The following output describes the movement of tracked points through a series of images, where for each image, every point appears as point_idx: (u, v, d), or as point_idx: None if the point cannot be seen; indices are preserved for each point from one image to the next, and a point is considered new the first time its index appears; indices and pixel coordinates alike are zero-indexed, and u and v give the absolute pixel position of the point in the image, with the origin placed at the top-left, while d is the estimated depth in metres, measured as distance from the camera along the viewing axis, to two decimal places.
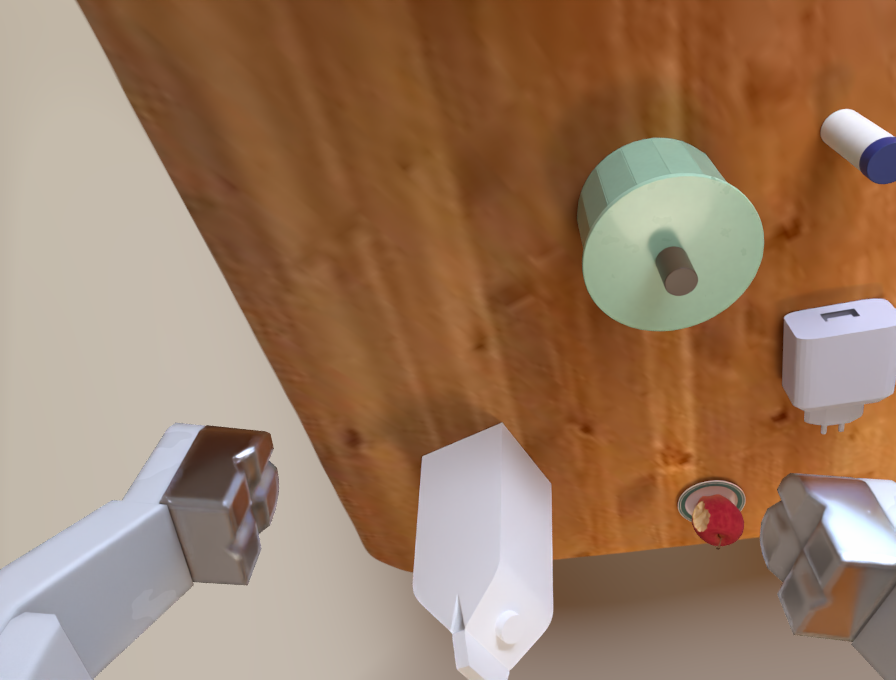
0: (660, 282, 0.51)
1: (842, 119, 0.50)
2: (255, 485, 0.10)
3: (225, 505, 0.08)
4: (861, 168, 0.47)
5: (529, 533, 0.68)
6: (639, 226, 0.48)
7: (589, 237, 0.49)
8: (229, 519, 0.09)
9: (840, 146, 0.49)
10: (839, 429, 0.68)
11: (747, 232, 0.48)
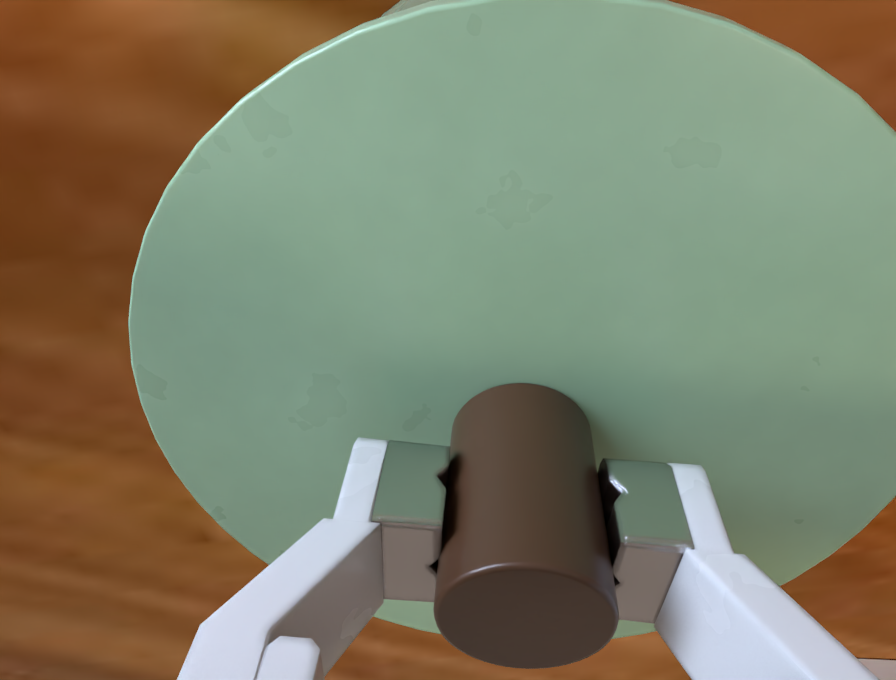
0: None
1: None
2: None
3: (438, 523, 0.08)
4: None
5: None
6: (312, 468, 0.12)
7: None
8: (437, 537, 0.09)
9: None
10: None
11: (582, 95, 0.08)
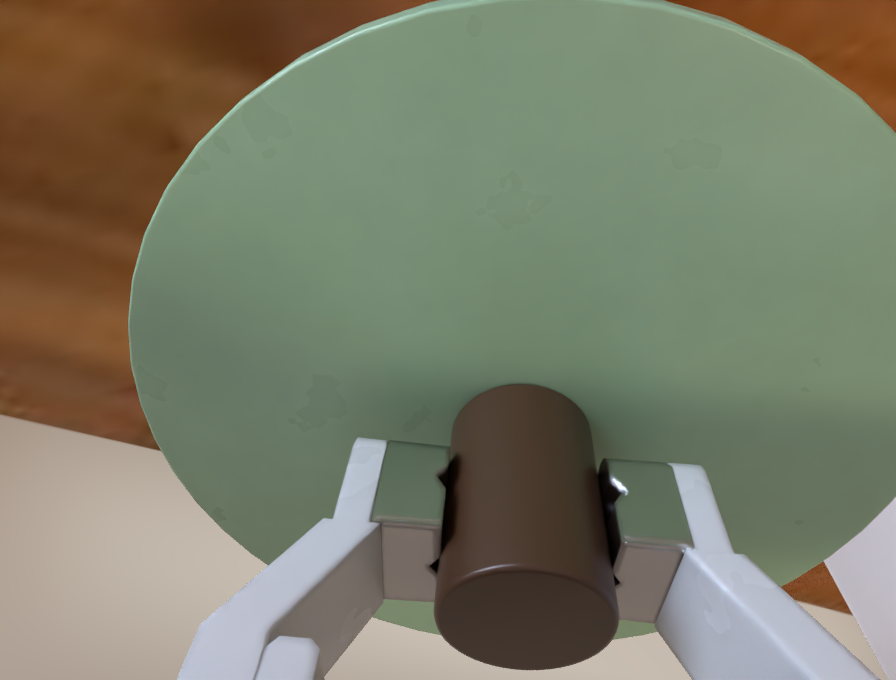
0: None
1: None
2: None
3: (438, 523, 0.08)
4: None
5: None
6: (312, 469, 0.12)
7: None
8: (437, 537, 0.09)
9: None
10: None
11: (583, 96, 0.08)
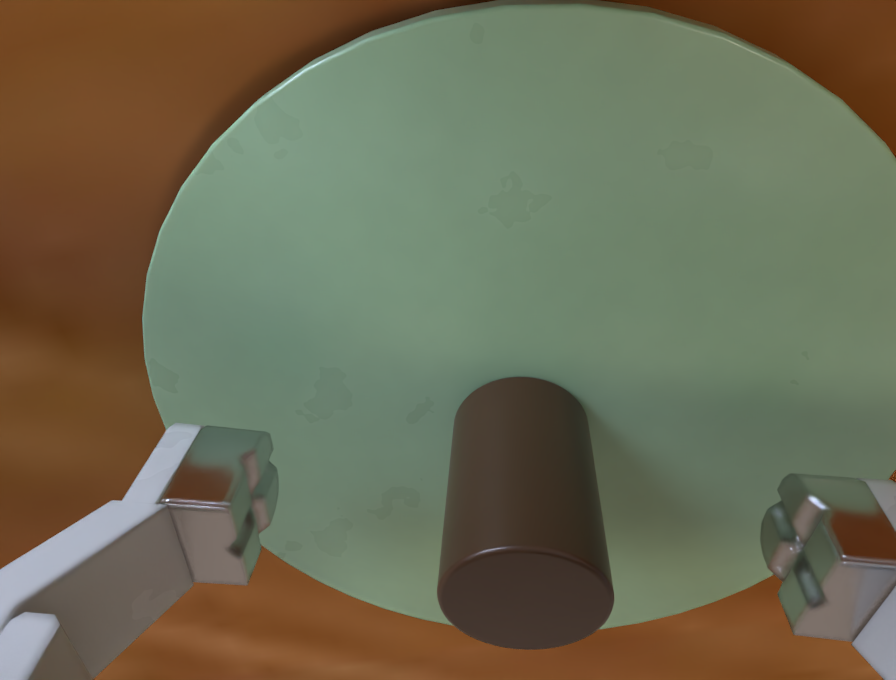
0: (597, 485, 0.12)
1: None
2: (255, 485, 0.10)
3: (225, 505, 0.08)
4: None
5: None
6: (319, 460, 0.12)
7: (300, 569, 0.15)
8: (229, 519, 0.09)
9: None
10: None
11: (580, 100, 0.08)
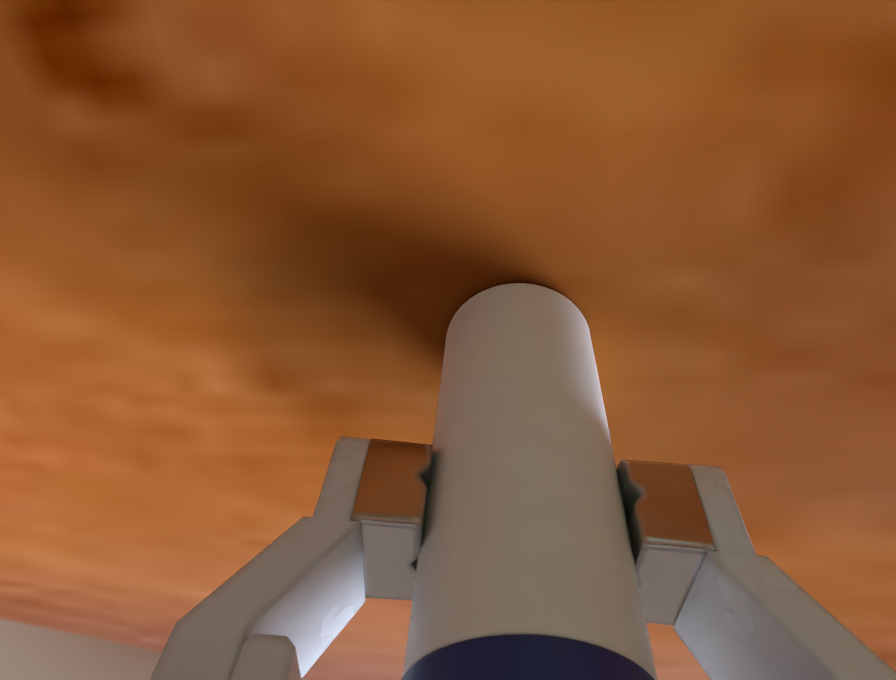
0: None
1: None
2: None
3: (417, 521, 0.08)
4: (548, 673, 0.06)
5: None
6: None
7: None
8: (417, 535, 0.09)
9: (559, 423, 0.09)
10: None
11: None
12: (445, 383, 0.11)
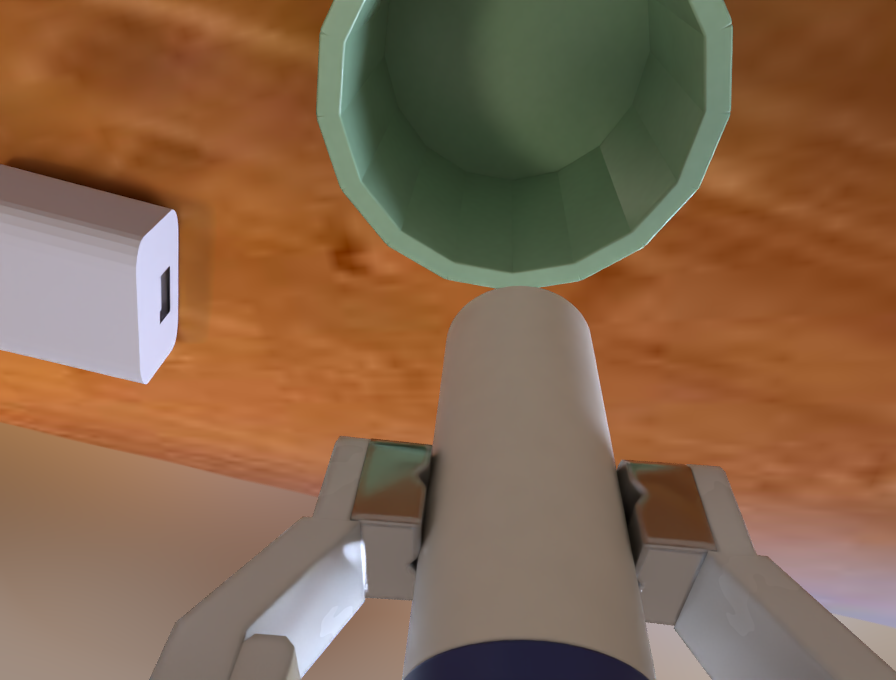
0: None
1: (601, 396, 0.12)
2: None
3: (416, 521, 0.08)
4: (547, 679, 0.06)
5: None
6: None
7: None
8: (416, 535, 0.09)
9: (559, 426, 0.09)
10: None
11: None
12: (445, 386, 0.11)
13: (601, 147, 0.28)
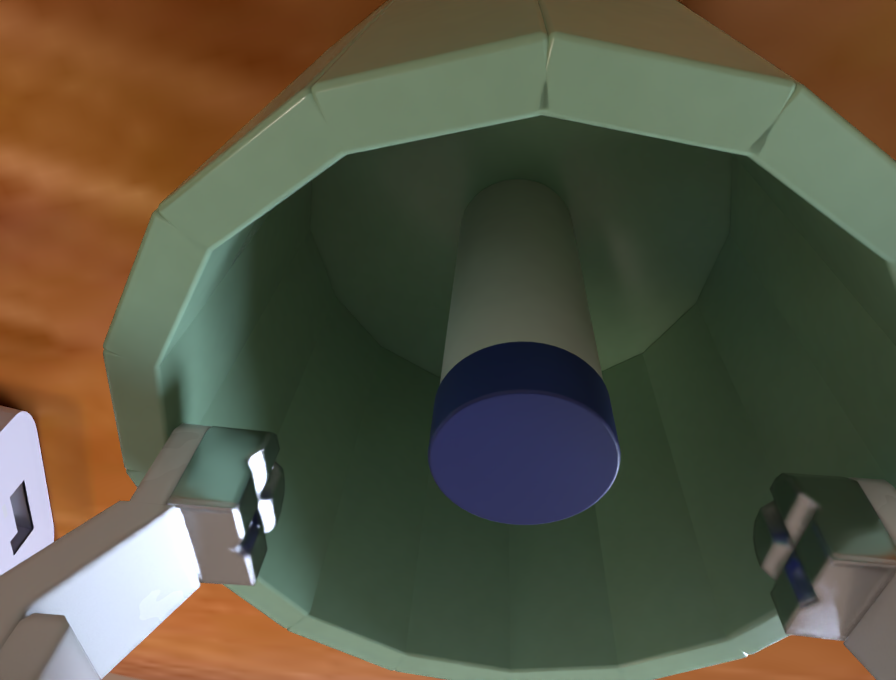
0: None
1: None
2: (262, 485, 0.10)
3: (233, 506, 0.08)
4: (533, 355, 0.10)
5: None
6: None
7: None
8: (237, 519, 0.09)
9: (544, 252, 0.13)
10: None
11: None
12: (462, 245, 0.15)
13: (646, 360, 0.19)
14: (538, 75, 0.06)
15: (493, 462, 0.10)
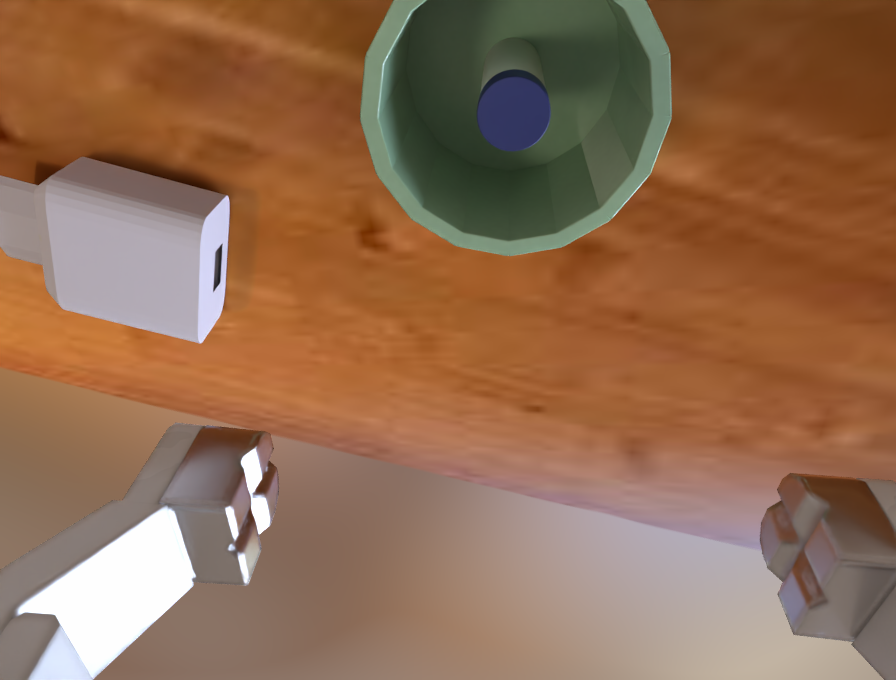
0: None
1: None
2: (255, 485, 0.10)
3: (225, 505, 0.08)
4: (517, 71, 0.26)
5: None
6: None
7: None
8: (229, 519, 0.09)
9: (524, 55, 0.29)
10: None
11: None
12: (486, 63, 0.31)
13: (582, 144, 0.35)
14: None
15: (502, 114, 0.27)
